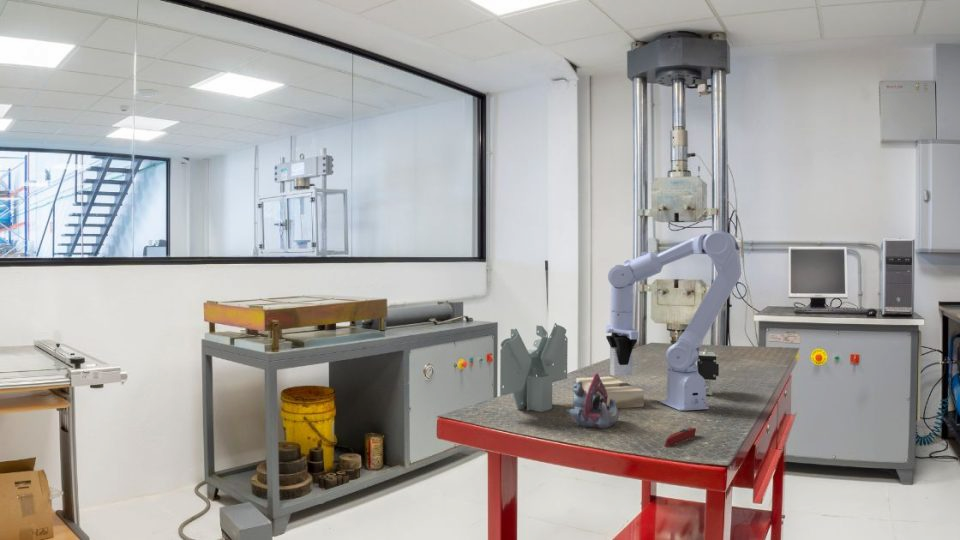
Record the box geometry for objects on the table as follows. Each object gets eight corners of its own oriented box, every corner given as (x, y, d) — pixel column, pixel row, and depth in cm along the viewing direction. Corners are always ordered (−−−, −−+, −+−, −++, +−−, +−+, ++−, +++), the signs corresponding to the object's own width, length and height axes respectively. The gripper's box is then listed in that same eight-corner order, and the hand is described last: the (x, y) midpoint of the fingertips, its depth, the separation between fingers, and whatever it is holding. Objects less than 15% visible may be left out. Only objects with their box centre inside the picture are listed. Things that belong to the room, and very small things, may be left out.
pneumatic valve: (697, 397, 160) (697, 352, 159) (695, 388, 171) (695, 346, 171) (719, 399, 158) (720, 353, 158) (716, 390, 169) (716, 347, 169)
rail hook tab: (632, 375, 158) (632, 348, 158) (614, 375, 157) (614, 348, 157) (627, 373, 161) (627, 346, 161) (609, 374, 159) (610, 347, 159)
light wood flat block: (643, 406, 150) (643, 390, 150) (606, 408, 147) (606, 392, 147) (610, 391, 167) (610, 376, 167) (576, 392, 165) (576, 378, 165)
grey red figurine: (614, 422, 126) (582, 372, 130) (575, 447, 131) (546, 398, 135) (635, 411, 135) (604, 365, 139) (598, 435, 140) (569, 389, 144)
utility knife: (692, 435, 126) (692, 425, 126) (697, 436, 125) (697, 426, 125) (662, 446, 118) (662, 436, 118) (667, 448, 117) (667, 437, 117)
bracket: (554, 396, 161) (555, 320, 160) (578, 400, 156) (578, 322, 156) (487, 416, 140) (487, 328, 139) (511, 421, 135) (512, 331, 135)
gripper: (595, 309, 165) (595, 359, 165) (620, 314, 151) (619, 369, 151) (619, 309, 166) (619, 358, 167) (646, 313, 152) (645, 368, 152)
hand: (621, 363), depth 159 cm, fingers closed on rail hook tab, 2 cm apart
